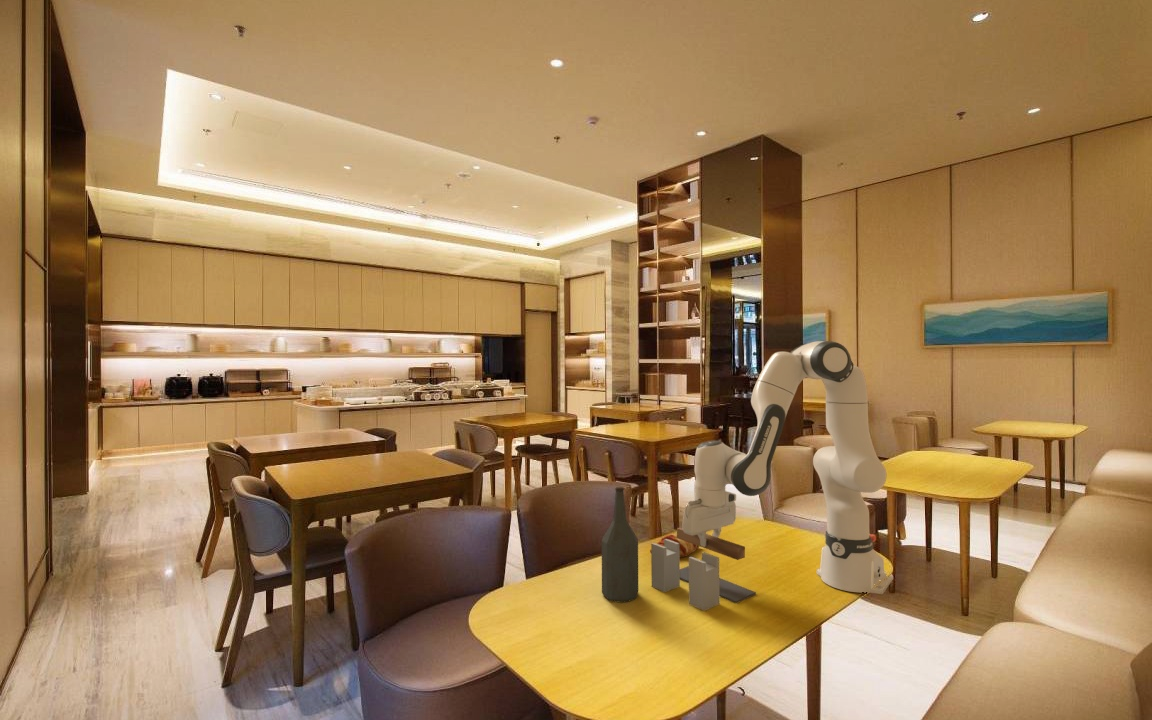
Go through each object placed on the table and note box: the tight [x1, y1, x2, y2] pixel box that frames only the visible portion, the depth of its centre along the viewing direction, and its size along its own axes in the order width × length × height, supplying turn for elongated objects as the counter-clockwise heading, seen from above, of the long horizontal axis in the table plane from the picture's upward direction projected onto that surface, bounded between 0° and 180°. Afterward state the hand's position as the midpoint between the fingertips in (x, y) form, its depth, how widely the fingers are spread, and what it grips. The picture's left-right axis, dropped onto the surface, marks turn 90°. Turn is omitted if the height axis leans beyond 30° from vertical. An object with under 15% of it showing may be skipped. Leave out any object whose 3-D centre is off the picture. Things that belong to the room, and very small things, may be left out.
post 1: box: [650, 539, 681, 593], centre depth 151 cm, size 6×5×12 cm
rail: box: [676, 526, 746, 561], centre depth 152 cm, size 3×22×3 cm, turn 37°
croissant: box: [649, 533, 701, 558], centre depth 177 cm, size 21×10×8 cm, turn 121°
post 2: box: [688, 552, 721, 612], centre depth 140 cm, size 6×5×12 cm
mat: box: [680, 565, 757, 604], centre depth 152 cm, size 9×24×1 cm, turn 37°
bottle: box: [601, 486, 639, 603], centre depth 146 cm, size 10×10×30 cm
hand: (709, 544), depth 152 cm, fingers closed on rail, 3 cm apart
